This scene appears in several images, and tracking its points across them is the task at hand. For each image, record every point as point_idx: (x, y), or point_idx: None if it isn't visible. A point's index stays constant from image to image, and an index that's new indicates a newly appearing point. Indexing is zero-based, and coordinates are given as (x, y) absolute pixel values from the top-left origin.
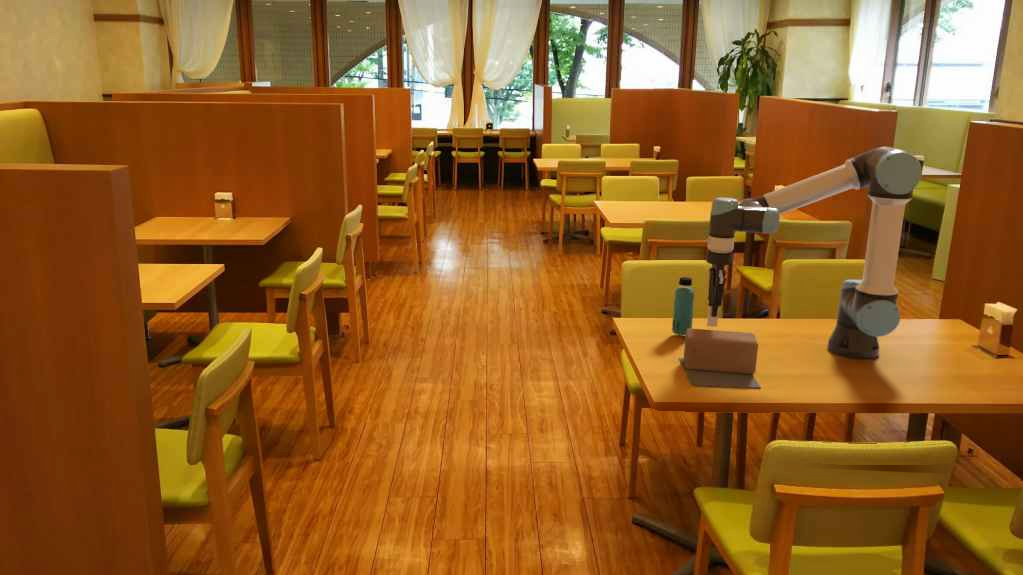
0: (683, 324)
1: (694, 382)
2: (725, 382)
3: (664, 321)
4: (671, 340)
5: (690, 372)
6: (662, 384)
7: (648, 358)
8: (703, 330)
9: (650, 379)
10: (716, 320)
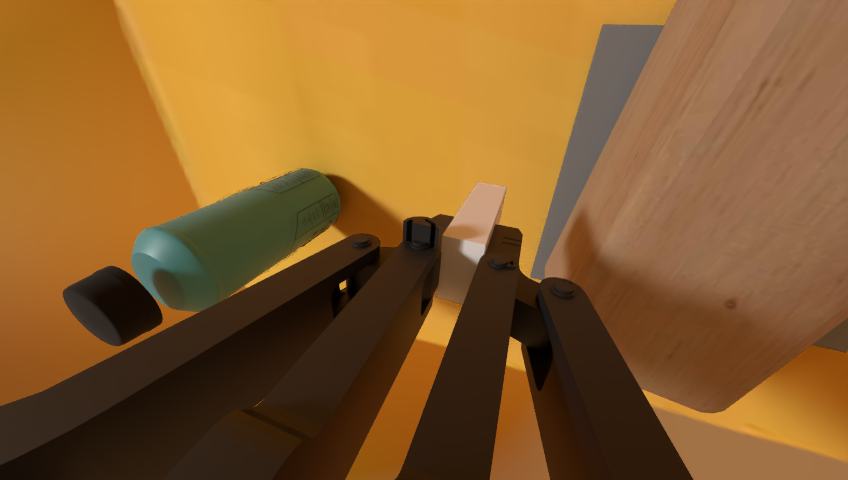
0: (319, 219)
1: (824, 335)
2: None
3: (216, 194)
4: (362, 233)
5: None
6: (765, 409)
7: (515, 346)
8: (614, 310)
9: (701, 414)
10: (500, 206)
